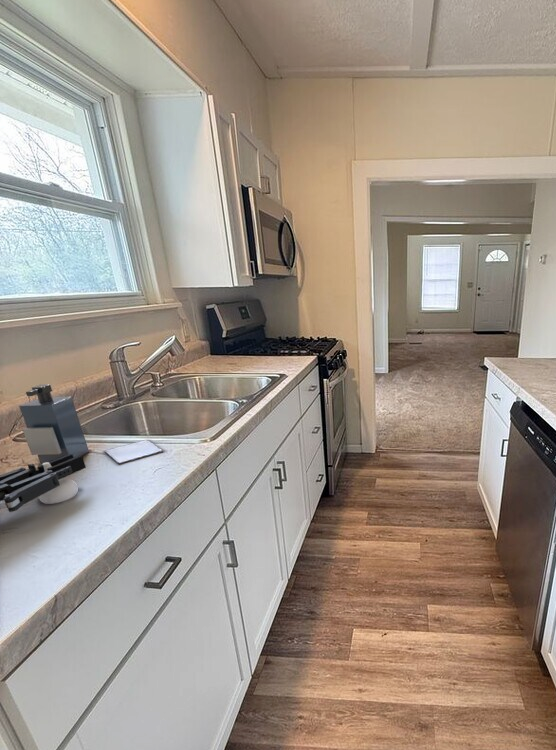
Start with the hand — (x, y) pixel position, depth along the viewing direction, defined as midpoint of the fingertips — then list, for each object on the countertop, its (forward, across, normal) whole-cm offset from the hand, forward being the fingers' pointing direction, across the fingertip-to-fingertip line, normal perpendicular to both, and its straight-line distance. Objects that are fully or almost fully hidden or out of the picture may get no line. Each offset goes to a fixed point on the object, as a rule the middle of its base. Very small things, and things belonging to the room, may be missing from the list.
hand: (77, 460), depth 84 cm
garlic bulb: (-6, 0, -6) cm, 8 cm away
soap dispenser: (+9, -18, -6) cm, 21 cm away
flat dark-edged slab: (+16, -4, -6) cm, 18 cm away
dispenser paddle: (+4, -16, -2) cm, 17 cm away
